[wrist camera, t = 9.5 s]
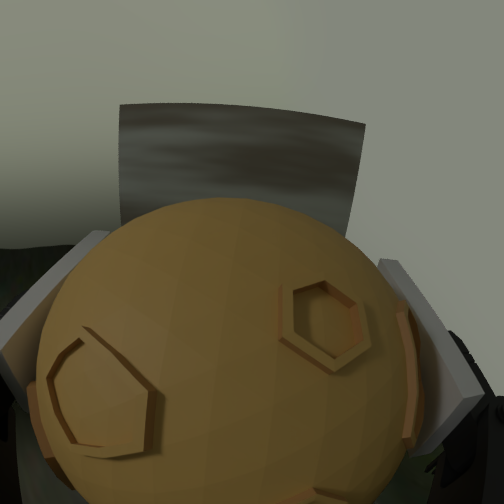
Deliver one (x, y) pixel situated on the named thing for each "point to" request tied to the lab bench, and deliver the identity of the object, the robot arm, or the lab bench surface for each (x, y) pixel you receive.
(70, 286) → the stress ball
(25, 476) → the lab bench surface
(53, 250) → the lab bench surface
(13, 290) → the lab bench surface
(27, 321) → the robot arm
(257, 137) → the ledge stand
